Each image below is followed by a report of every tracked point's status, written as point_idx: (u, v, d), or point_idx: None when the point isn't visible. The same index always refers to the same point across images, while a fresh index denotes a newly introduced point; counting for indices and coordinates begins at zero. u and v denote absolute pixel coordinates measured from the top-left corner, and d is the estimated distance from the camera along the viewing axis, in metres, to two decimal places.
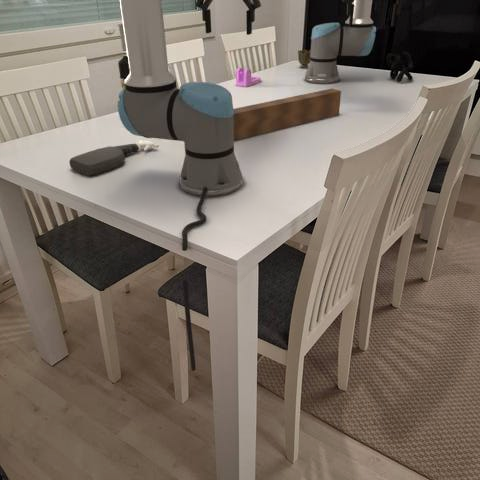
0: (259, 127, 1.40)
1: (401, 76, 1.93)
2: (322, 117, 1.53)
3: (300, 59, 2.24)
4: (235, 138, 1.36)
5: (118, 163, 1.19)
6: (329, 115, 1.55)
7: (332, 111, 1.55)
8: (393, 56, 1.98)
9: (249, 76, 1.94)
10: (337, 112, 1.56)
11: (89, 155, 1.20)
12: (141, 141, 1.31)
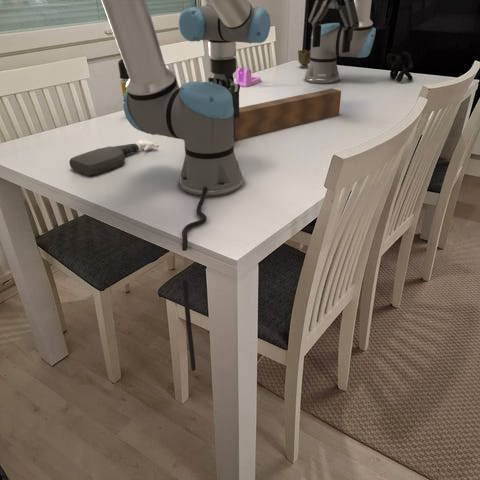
0: (259, 127, 1.40)
1: (401, 76, 1.93)
2: (322, 117, 1.53)
3: (300, 59, 2.24)
4: (235, 138, 1.36)
5: (118, 163, 1.19)
6: (329, 115, 1.55)
7: (332, 111, 1.55)
8: (393, 56, 1.98)
9: (249, 76, 1.94)
10: (337, 112, 1.56)
11: (89, 155, 1.20)
12: (141, 141, 1.31)
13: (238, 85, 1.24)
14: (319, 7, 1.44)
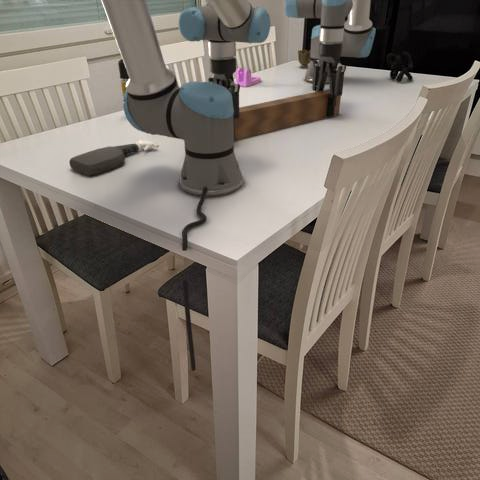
0: (259, 127, 1.40)
1: (401, 76, 1.93)
2: (322, 117, 1.53)
3: (300, 59, 2.24)
4: (235, 138, 1.36)
5: (118, 163, 1.19)
6: None
7: None
8: (393, 56, 1.98)
9: (249, 76, 1.94)
10: (337, 112, 1.56)
11: (89, 155, 1.20)
12: (141, 141, 1.31)
13: (238, 85, 1.24)
14: (319, 74, 1.53)
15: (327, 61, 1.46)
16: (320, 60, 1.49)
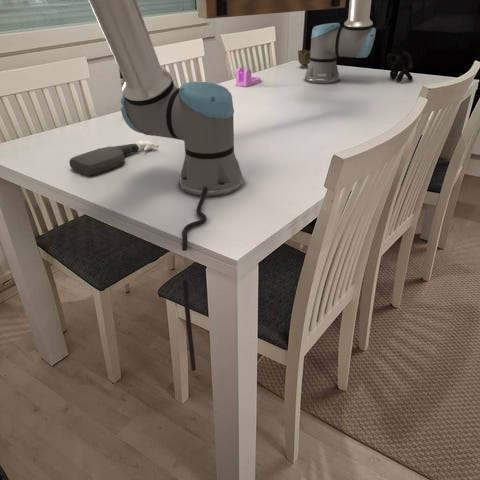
0: (256, 5, 1.23)
1: (401, 76, 1.93)
2: (326, 6, 1.37)
3: (300, 59, 2.24)
4: (228, 14, 1.20)
5: (118, 163, 1.19)
6: None
7: None
8: (393, 56, 1.98)
9: (249, 76, 1.94)
10: (343, 4, 1.40)
11: (89, 155, 1.20)
12: (141, 141, 1.31)
13: None
14: None
15: None
16: None
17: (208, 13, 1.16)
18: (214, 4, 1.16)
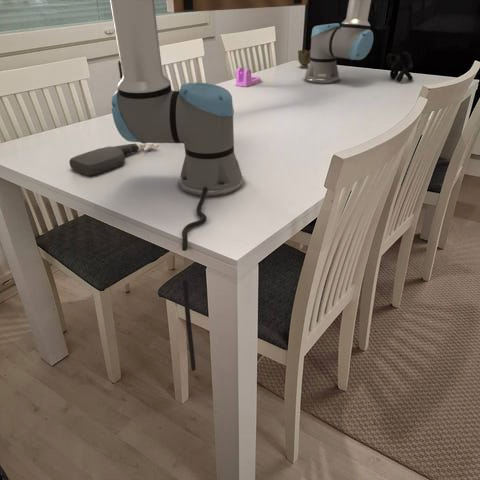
0: (221, 1, 1.35)
1: (401, 76, 1.93)
2: (289, 3, 1.48)
3: (300, 59, 2.24)
4: (194, 9, 1.31)
5: (118, 163, 1.19)
6: None
7: None
8: (393, 56, 1.98)
9: (249, 76, 1.94)
10: (305, 1, 1.52)
11: (89, 155, 1.20)
12: None
13: None
14: None
15: None
16: None
17: (175, 7, 1.28)
18: (181, 0, 1.28)
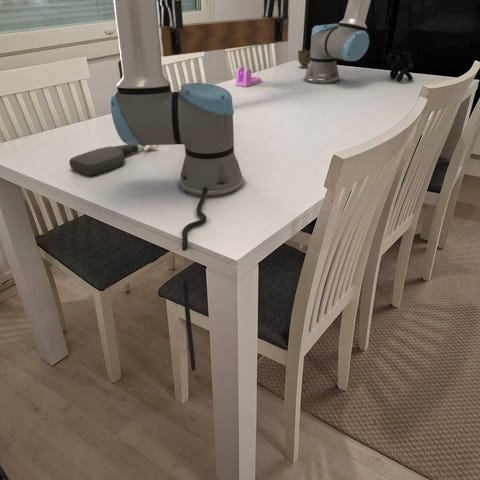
0: (206, 44, 1.48)
1: (401, 76, 1.93)
2: (270, 41, 1.61)
3: (300, 59, 2.24)
4: (182, 52, 1.44)
5: (118, 163, 1.19)
6: None
7: None
8: (393, 56, 1.98)
9: (249, 76, 1.94)
10: (286, 38, 1.64)
11: (89, 155, 1.20)
12: None
13: None
14: (267, 0, 1.61)
15: None
16: None
17: (164, 52, 1.41)
18: (169, 45, 1.41)
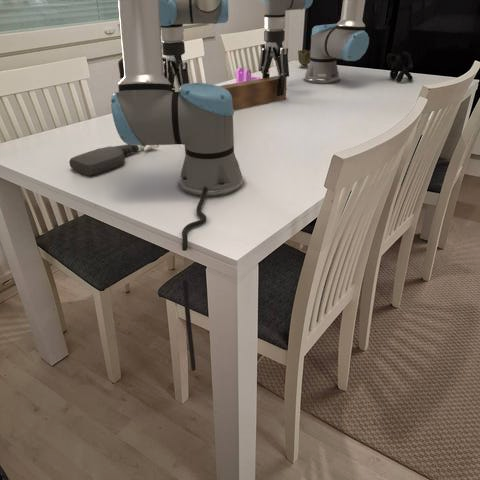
0: None
1: (401, 76, 1.93)
2: (269, 100, 1.72)
3: (300, 59, 2.24)
4: None
5: (118, 163, 1.19)
6: (276, 99, 1.74)
7: (279, 96, 1.74)
8: (393, 56, 1.98)
9: (249, 76, 1.94)
10: (284, 97, 1.76)
11: (89, 155, 1.20)
12: None
13: (185, 63, 1.42)
14: (265, 57, 1.72)
15: (272, 46, 1.65)
16: (266, 46, 1.67)
17: None
18: None
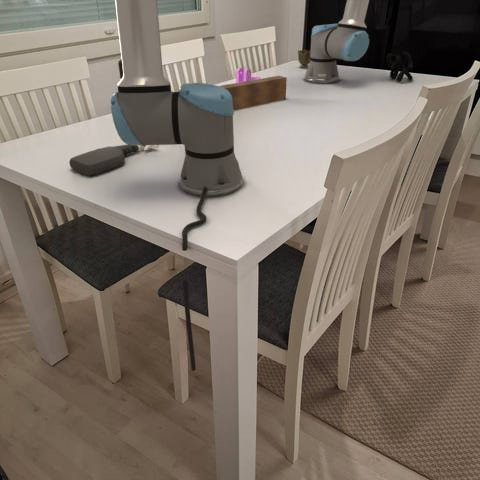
0: None
1: (401, 76, 1.93)
2: (269, 100, 1.72)
3: (300, 59, 2.24)
4: None
5: (118, 163, 1.19)
6: (276, 99, 1.74)
7: (279, 96, 1.74)
8: (393, 56, 1.98)
9: (249, 76, 1.94)
10: (284, 97, 1.76)
11: (89, 155, 1.20)
12: None
13: None
14: None
15: None
16: None
17: None
18: None
